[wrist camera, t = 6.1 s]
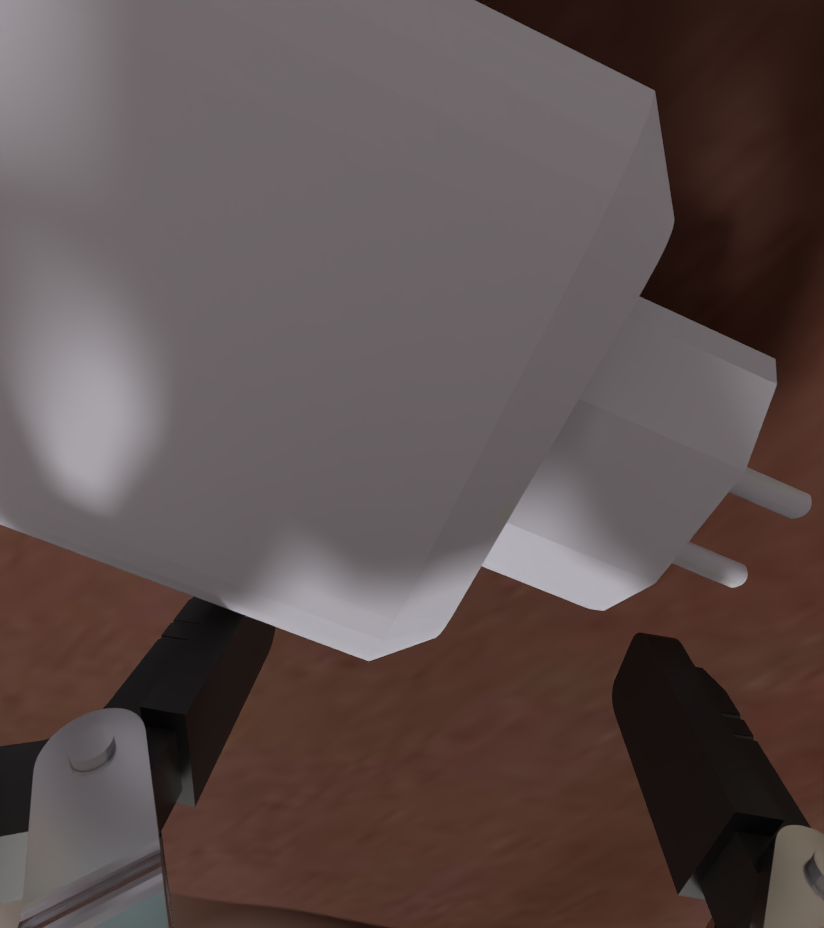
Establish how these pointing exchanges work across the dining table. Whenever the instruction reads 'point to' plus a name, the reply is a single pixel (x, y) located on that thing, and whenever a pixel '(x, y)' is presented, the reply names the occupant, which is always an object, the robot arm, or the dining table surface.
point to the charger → (351, 314)
